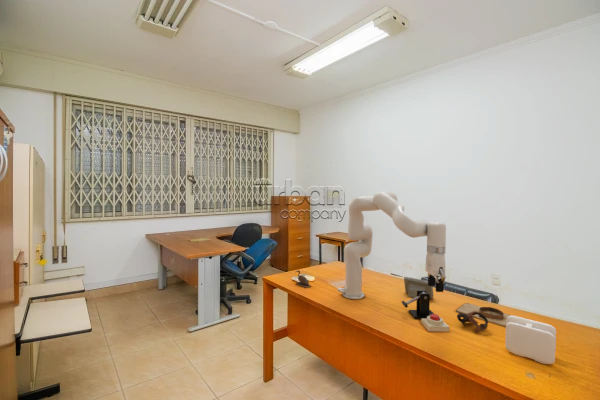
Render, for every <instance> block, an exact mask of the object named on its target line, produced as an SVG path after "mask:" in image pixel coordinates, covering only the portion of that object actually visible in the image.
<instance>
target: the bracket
mask: <svg viewBox="0 0 600 400" xmlns="http://www.w3.org/2000/svg"><path fill="white" fill-rule="evenodd" d="M422 292H425V293H422ZM419 294H420V299H418V300H416V309H408V313H409V314H410V315H411V317H412V318H413V319H414V320H421V318H427V316H430V315H431V314H435V313H434V312H433V311H432V310H431V309H430V305H431V303H430V301H431V298H430V294H429V293H426V291H425V290H417V297H418V296H419Z"/></svg>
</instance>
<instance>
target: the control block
mask: <svg viewBox="0 0 600 400" xmlns="http://www.w3.org/2000/svg"><path fill="white" fill-rule="evenodd" d="M420 321H421V324H422V326H423V327H424V328H425V329H426V330H427V331H428V332H445V333H447V332H450V326H449V325H448V324H447V323H446V322H445V321H444V319H443V318H442V317H440V316H439V321H435V320H432V319H431V315H430V316H427V318H421V319H420Z"/></svg>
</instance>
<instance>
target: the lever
mask: <svg viewBox="0 0 600 400" xmlns="http://www.w3.org/2000/svg"><path fill="white" fill-rule="evenodd" d="M422 293H425V292H422ZM418 299H420V294H419V296H418V297H416V298H411V299H409V300H407V301H404V300H402V301H401V304H402V305H403V306H404V307H405V309H408V308H409V305H411V304H412V303H414V302H417V300H418Z"/></svg>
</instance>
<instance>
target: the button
mask: <svg viewBox="0 0 600 400" xmlns="http://www.w3.org/2000/svg"><path fill="white" fill-rule="evenodd" d="M439 317H440V315H439V314H437V313H434V314H431V319H432V320H435V321H439Z"/></svg>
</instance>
